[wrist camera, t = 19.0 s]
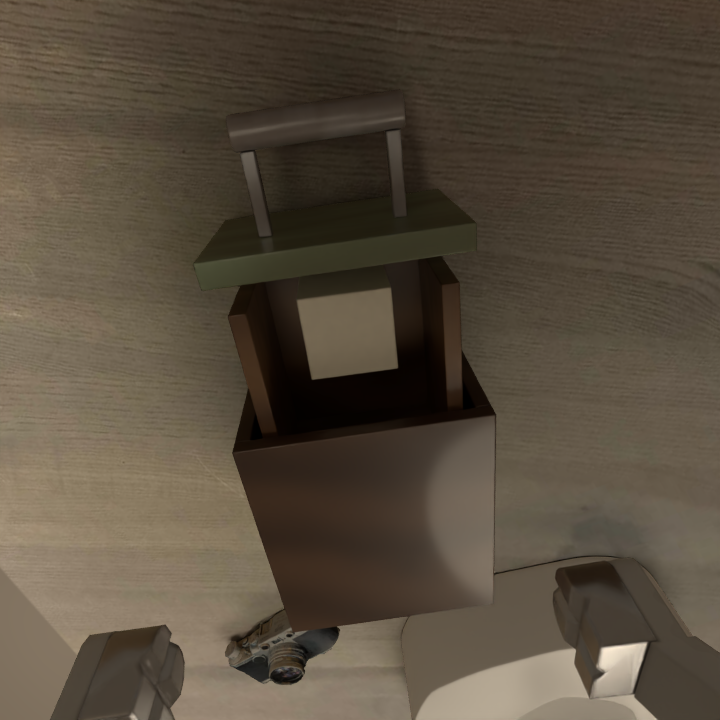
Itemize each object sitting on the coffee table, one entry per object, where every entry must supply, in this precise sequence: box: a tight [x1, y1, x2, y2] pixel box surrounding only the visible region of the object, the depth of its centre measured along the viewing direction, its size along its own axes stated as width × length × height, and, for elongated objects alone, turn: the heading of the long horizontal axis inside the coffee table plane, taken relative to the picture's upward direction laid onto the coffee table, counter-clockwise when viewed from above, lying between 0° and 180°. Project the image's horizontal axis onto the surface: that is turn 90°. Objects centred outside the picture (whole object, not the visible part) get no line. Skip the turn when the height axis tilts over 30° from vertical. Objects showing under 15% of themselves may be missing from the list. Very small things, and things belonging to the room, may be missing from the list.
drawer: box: [193, 89, 477, 439], centre depth 24 cm, size 18×11×7 cm, turn 7°
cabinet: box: [232, 351, 496, 632], centre depth 30 cm, size 15×13×9 cm
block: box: [296, 265, 398, 380], centre depth 25 cm, size 4×4×4 cm
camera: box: [225, 609, 340, 685], centre depth 43 cm, size 5×10×4 cm, turn 126°
